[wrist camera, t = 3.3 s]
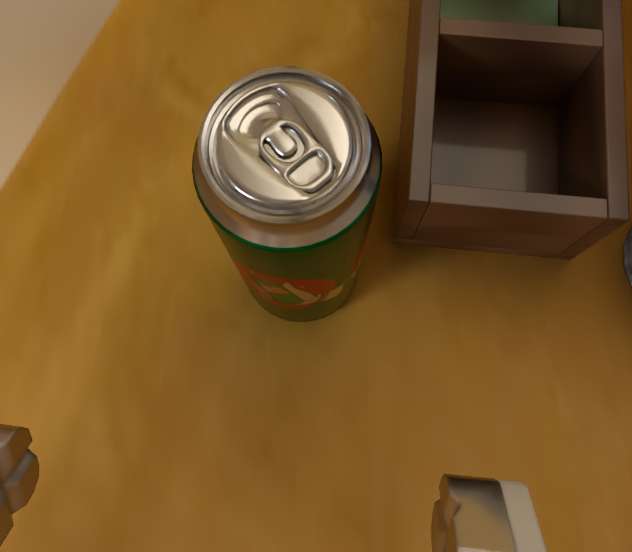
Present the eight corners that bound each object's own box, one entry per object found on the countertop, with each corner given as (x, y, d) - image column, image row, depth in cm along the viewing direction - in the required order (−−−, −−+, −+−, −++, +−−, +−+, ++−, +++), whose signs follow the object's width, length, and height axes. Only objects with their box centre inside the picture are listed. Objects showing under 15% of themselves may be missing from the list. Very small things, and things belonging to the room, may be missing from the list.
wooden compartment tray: (392, 243, 26) (407, 200, 21) (420, -143, 31) (438, -249, 26) (571, 260, 25) (630, 220, 20) (567, -133, 31) (613, -238, 26)
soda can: (307, 195, 26) (295, 17, 15) (381, 274, 25) (430, 149, 14) (223, 264, 26) (140, 133, 14) (296, 348, 25) (271, 281, 13)
